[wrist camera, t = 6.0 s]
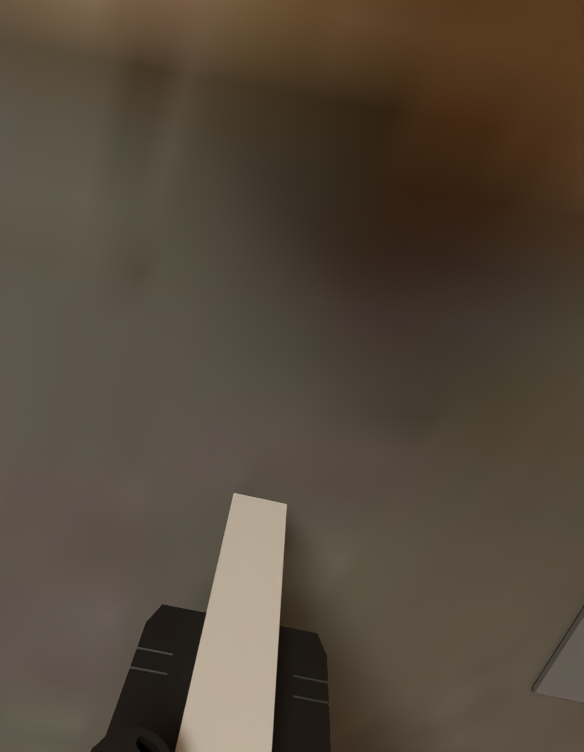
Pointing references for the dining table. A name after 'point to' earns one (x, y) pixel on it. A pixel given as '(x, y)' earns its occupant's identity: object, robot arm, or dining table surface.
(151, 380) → the dining table surface
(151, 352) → the dining table surface
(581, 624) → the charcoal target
